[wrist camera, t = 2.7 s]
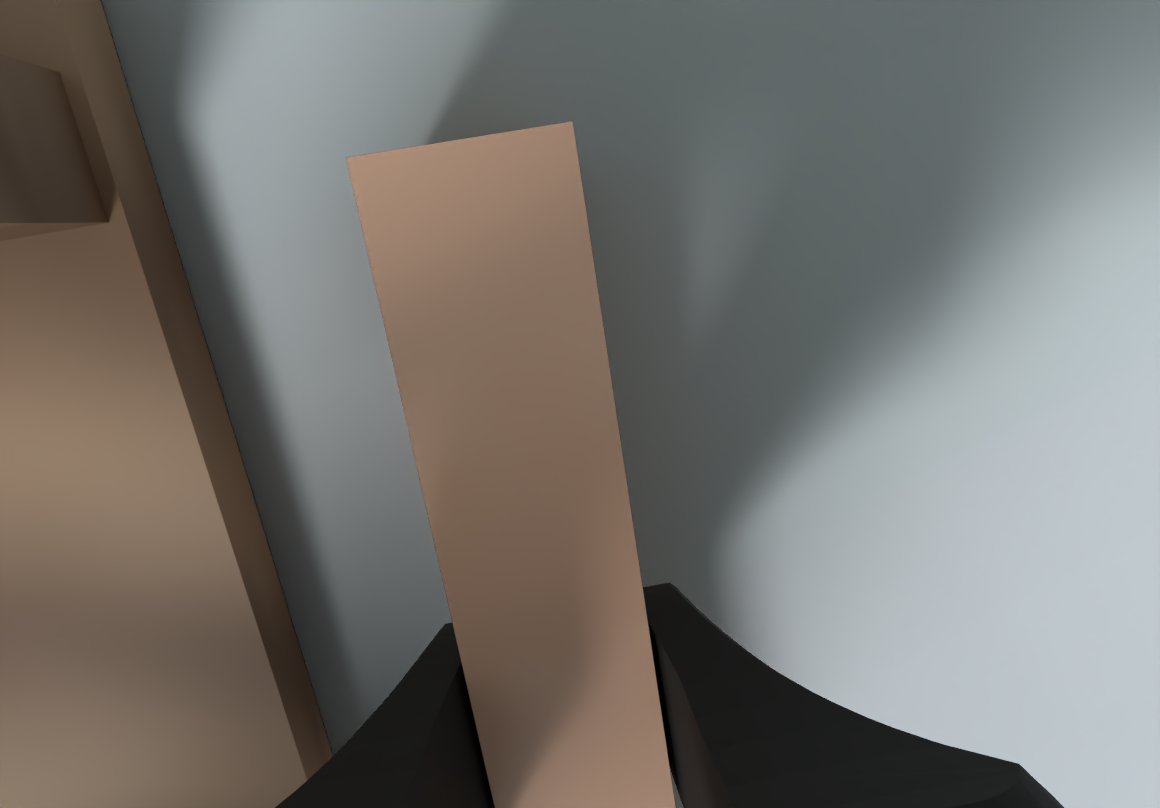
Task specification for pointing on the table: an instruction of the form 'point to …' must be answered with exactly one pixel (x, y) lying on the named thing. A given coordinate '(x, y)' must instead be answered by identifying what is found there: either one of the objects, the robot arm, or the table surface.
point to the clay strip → (520, 459)
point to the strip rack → (121, 475)
